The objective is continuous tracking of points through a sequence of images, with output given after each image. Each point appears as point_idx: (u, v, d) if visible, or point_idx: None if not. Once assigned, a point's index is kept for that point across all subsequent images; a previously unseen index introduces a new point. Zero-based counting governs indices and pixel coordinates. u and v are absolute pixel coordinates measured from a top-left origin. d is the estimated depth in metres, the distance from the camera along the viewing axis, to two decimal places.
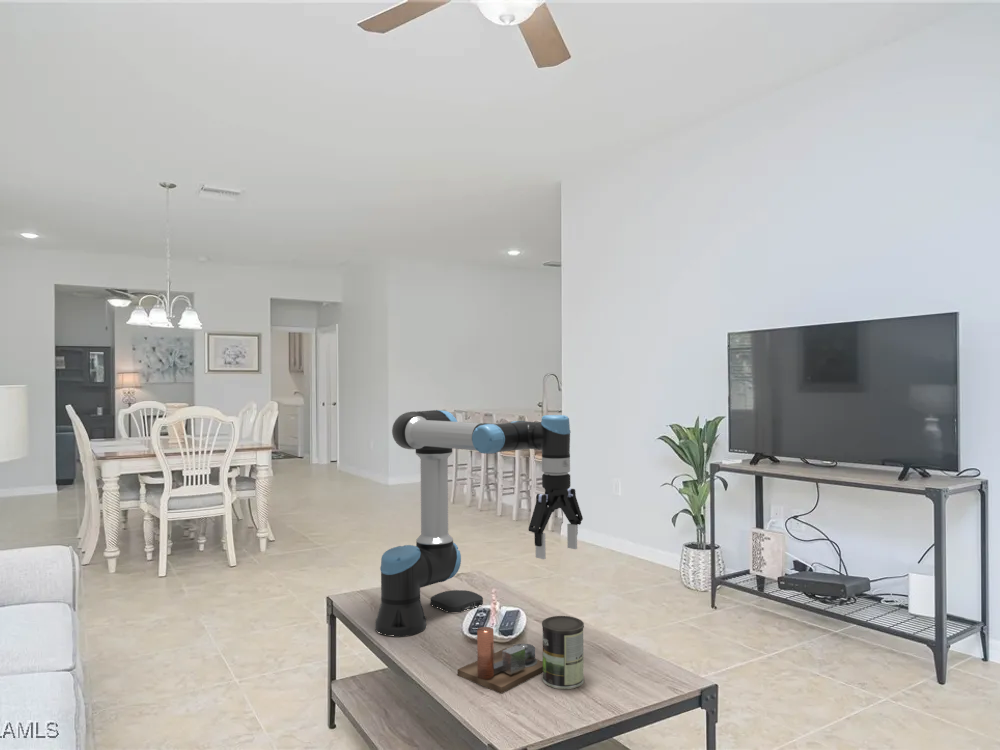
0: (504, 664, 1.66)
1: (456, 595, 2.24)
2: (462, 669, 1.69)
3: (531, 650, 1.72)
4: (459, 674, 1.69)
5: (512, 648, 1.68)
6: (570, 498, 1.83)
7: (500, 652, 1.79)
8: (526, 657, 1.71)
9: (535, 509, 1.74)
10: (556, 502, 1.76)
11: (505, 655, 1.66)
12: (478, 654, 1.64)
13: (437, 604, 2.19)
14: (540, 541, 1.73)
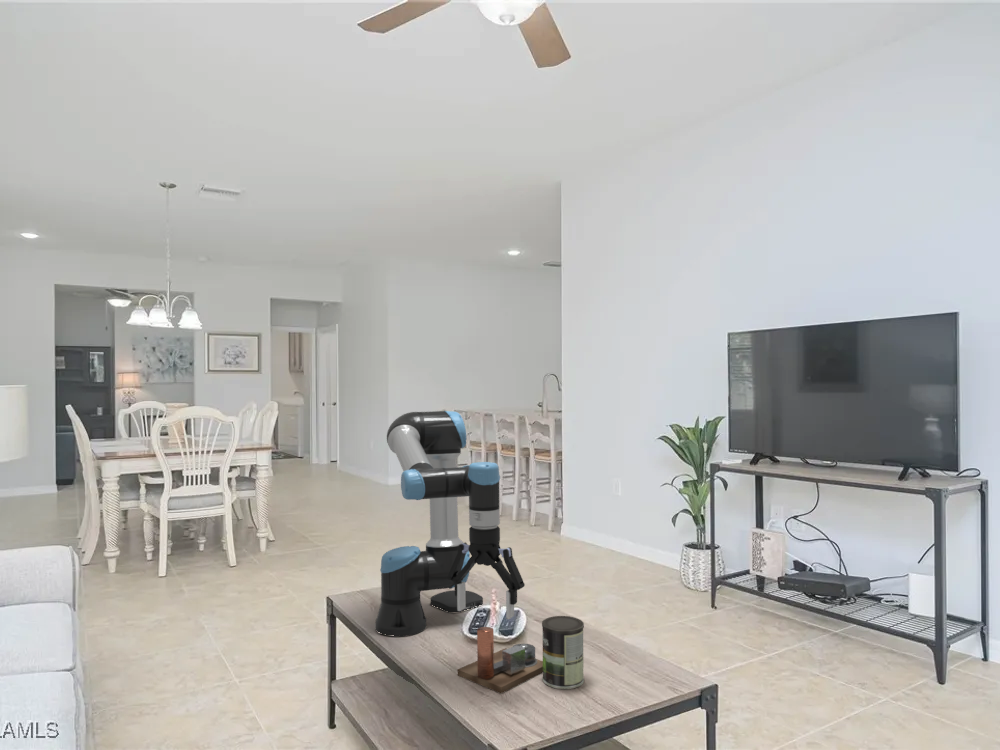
0: (504, 664, 1.66)
1: (456, 596, 2.24)
2: (462, 669, 1.69)
3: (531, 650, 1.72)
4: (459, 674, 1.69)
5: (512, 648, 1.68)
6: None
7: (500, 652, 1.79)
8: (526, 657, 1.71)
9: None
10: (473, 556, 1.64)
11: (505, 655, 1.66)
12: (478, 654, 1.64)
13: (437, 604, 2.19)
14: (456, 591, 1.68)
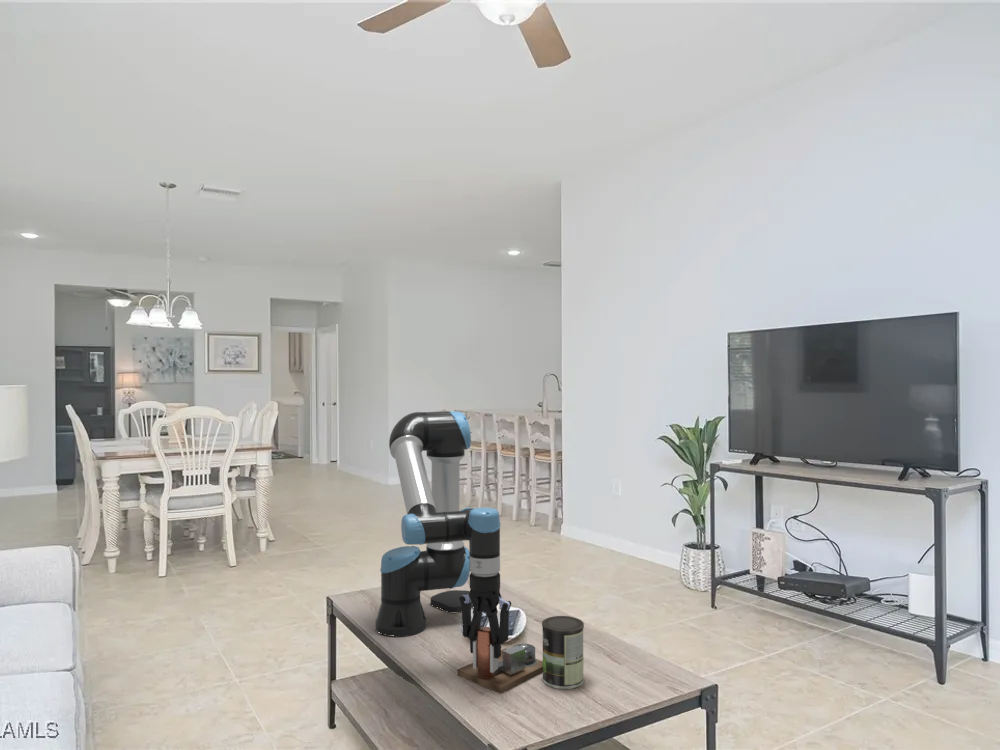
0: (504, 664, 1.66)
1: (456, 596, 2.24)
2: (462, 669, 1.69)
3: (531, 650, 1.72)
4: (459, 674, 1.69)
5: (512, 648, 1.68)
6: None
7: None
8: (526, 657, 1.71)
9: None
10: (475, 604, 1.64)
11: (505, 655, 1.66)
12: (478, 654, 1.64)
13: (437, 604, 2.19)
14: (472, 648, 1.66)
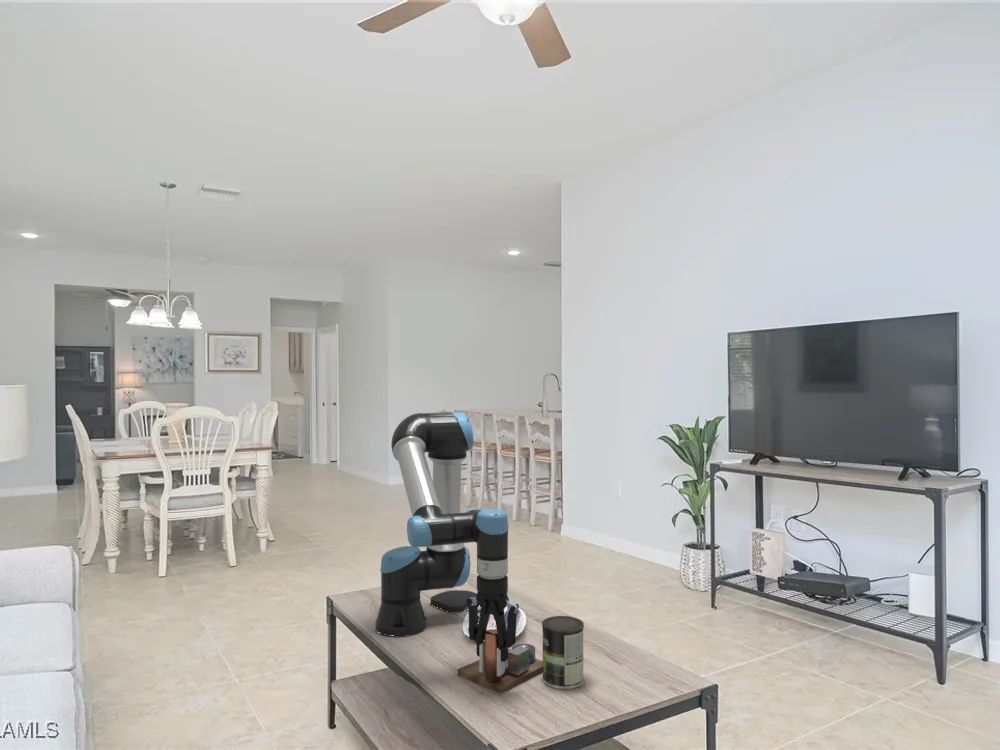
0: (510, 665, 1.65)
1: (456, 596, 2.24)
2: (462, 669, 1.69)
3: (532, 649, 1.72)
4: (459, 674, 1.69)
5: (516, 649, 1.68)
6: None
7: None
8: (528, 657, 1.71)
9: None
10: (482, 607, 1.62)
11: (511, 656, 1.65)
12: (486, 657, 1.62)
13: (437, 604, 2.19)
14: (478, 651, 1.64)
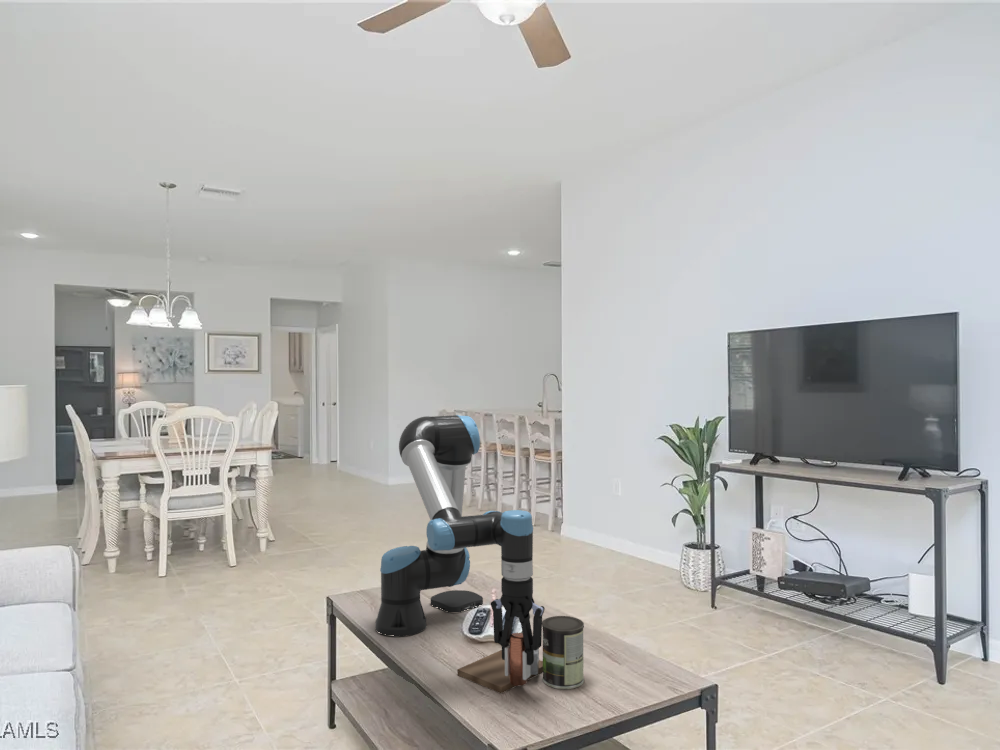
0: None
1: (456, 596, 2.24)
2: (462, 669, 1.69)
3: None
4: (459, 674, 1.69)
5: None
6: None
7: (500, 652, 1.79)
8: None
9: None
10: (507, 610, 1.60)
11: None
12: (515, 662, 1.59)
13: (437, 604, 2.19)
14: (504, 654, 1.61)
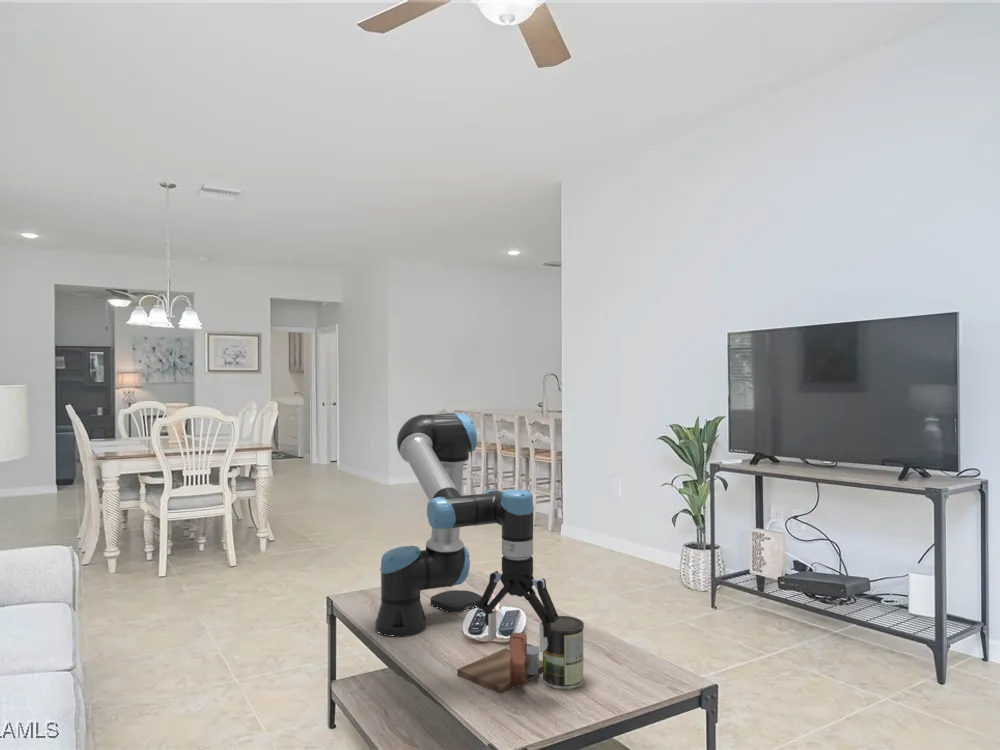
0: (528, 666, 1.65)
1: (456, 596, 2.24)
2: (462, 669, 1.69)
3: None
4: (459, 674, 1.69)
5: (529, 649, 1.67)
6: None
7: (500, 652, 1.79)
8: None
9: None
10: (505, 587, 1.60)
11: (529, 657, 1.65)
12: (515, 662, 1.59)
13: (437, 604, 2.19)
14: (487, 620, 1.64)
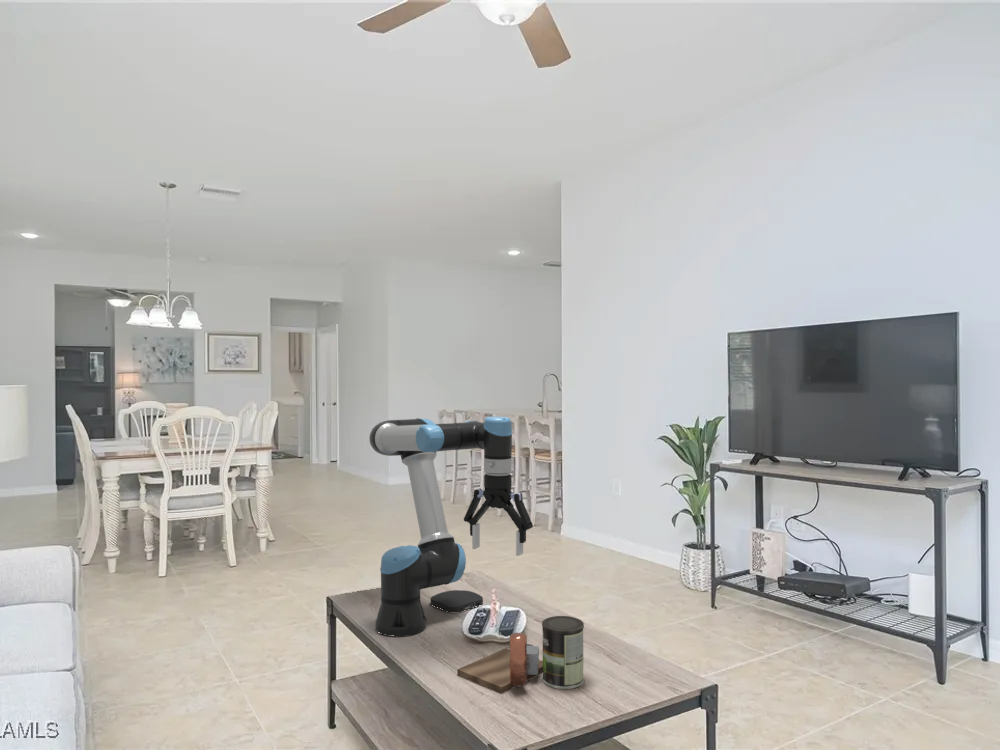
0: (528, 666, 1.65)
1: (456, 596, 2.24)
2: (462, 669, 1.69)
3: None
4: (459, 674, 1.69)
5: (529, 649, 1.67)
6: None
7: (500, 652, 1.79)
8: None
9: None
10: (487, 500, 1.83)
11: (529, 657, 1.65)
12: (515, 662, 1.59)
13: (437, 604, 2.19)
14: (472, 531, 1.87)
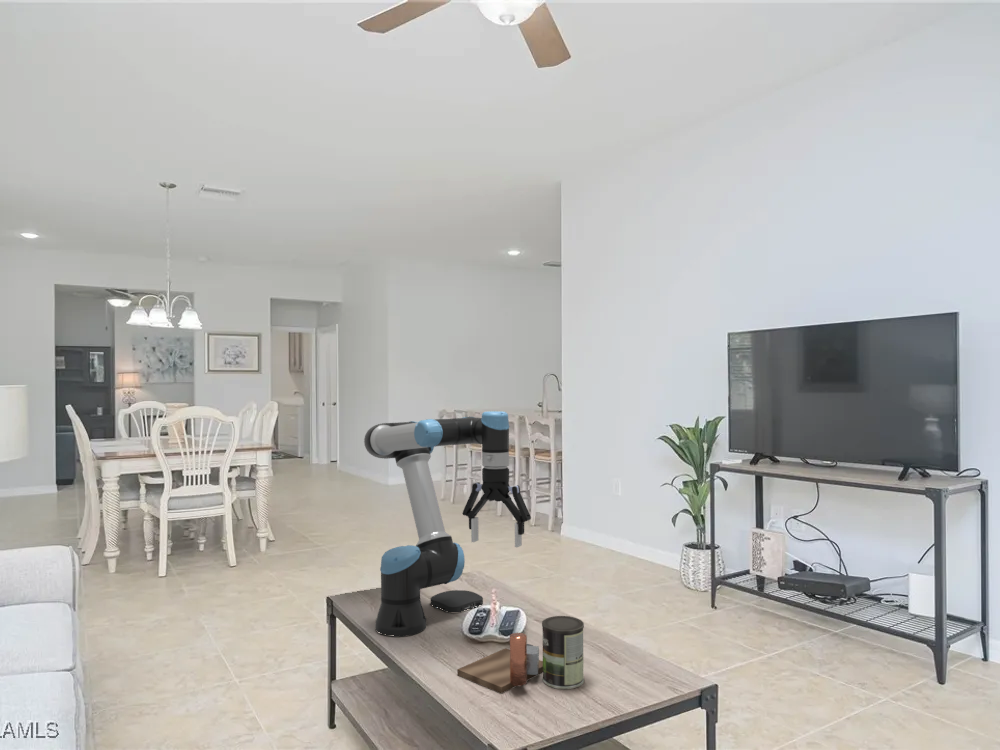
0: (528, 666, 1.65)
1: (456, 596, 2.24)
2: (462, 669, 1.69)
3: None
4: (459, 674, 1.69)
5: (529, 649, 1.67)
6: None
7: (500, 652, 1.79)
8: None
9: None
10: (485, 493, 1.86)
11: (529, 657, 1.65)
12: (515, 662, 1.59)
13: (437, 604, 2.19)
14: (470, 525, 1.90)
